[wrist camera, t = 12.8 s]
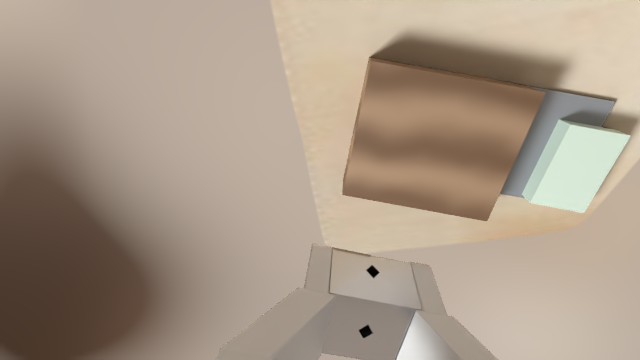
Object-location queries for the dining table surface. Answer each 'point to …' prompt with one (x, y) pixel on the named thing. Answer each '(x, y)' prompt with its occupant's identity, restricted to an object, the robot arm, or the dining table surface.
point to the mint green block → (574, 165)
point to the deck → (436, 138)
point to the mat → (543, 126)
